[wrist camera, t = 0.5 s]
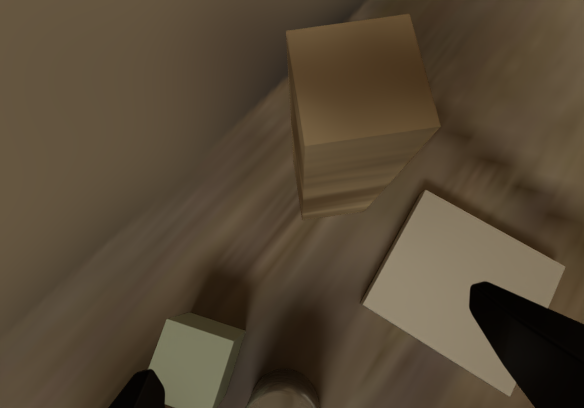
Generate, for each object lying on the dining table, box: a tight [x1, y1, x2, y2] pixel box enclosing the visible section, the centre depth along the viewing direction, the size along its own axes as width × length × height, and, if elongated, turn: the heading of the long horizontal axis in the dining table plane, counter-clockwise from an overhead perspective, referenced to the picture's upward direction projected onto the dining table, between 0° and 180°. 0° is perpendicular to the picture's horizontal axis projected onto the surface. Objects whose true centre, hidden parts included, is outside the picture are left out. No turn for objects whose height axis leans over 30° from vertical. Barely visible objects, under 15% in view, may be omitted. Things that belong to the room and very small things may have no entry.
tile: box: [360, 190, 565, 397], centre depth 21 cm, size 10×9×1 cm
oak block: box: [286, 14, 441, 220], centre depth 17 cm, size 4×4×13 cm
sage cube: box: [148, 313, 246, 408], centre depth 19 cm, size 4×4×4 cm
